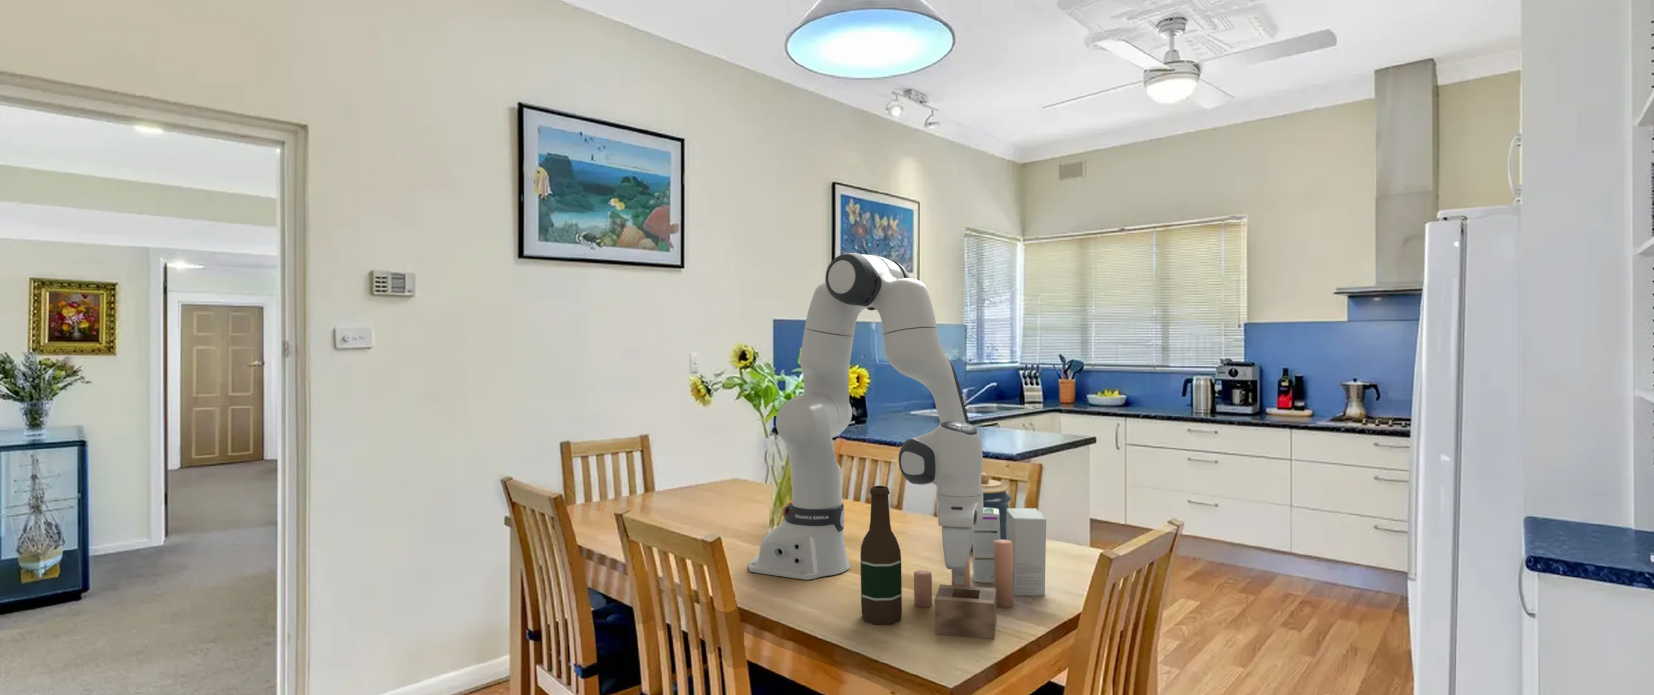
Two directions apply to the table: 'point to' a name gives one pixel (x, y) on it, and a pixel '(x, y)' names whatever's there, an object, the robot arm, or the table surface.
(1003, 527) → the canister
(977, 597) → the hole block
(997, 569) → the pin long
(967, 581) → the pin medium
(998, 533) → the syrup box
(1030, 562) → the skincare box
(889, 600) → the beer bottle
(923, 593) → the pin short
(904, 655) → the table surface
